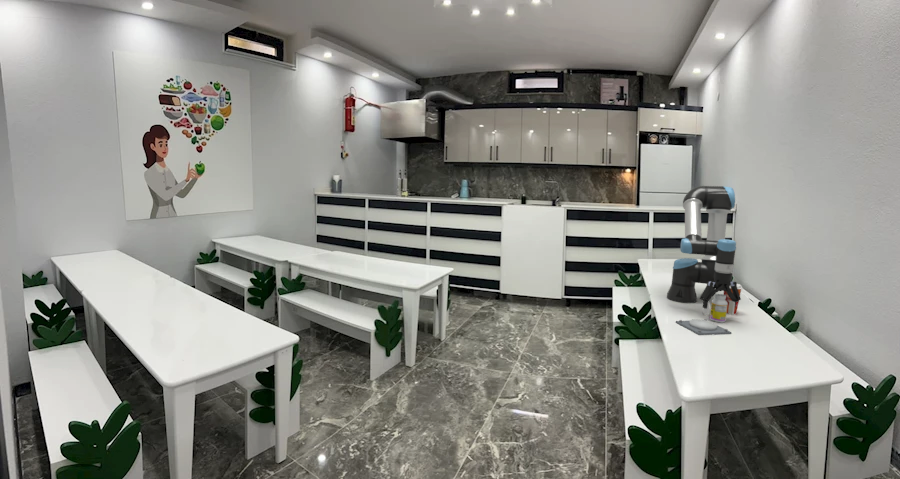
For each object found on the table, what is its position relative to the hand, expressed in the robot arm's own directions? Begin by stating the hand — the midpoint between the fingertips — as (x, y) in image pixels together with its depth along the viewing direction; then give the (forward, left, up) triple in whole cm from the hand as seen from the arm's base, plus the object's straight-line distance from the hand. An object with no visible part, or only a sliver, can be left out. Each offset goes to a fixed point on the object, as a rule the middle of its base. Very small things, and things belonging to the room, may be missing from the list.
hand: (718, 314), depth 214 cm
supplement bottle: (0, 0, -3) cm, 3 cm away
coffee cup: (-11, +16, -3) cm, 20 cm away
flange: (+9, -15, -3) cm, 18 cm away
